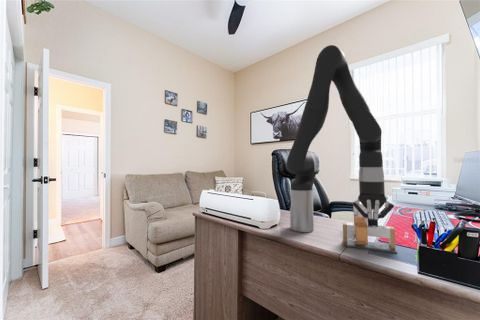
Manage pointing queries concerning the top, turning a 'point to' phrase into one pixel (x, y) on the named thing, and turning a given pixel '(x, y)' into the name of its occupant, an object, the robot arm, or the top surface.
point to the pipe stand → (372, 231)
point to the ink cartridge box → (357, 213)
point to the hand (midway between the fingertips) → (373, 229)
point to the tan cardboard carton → (361, 230)
